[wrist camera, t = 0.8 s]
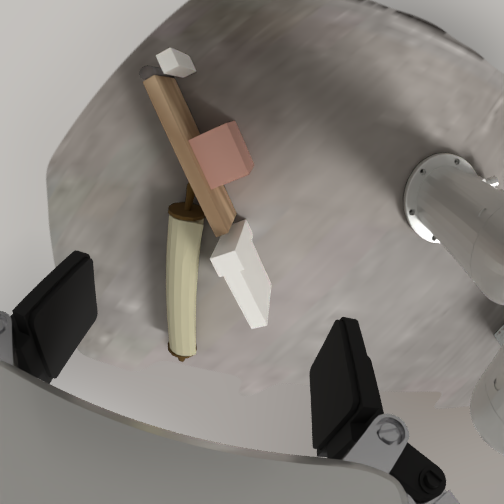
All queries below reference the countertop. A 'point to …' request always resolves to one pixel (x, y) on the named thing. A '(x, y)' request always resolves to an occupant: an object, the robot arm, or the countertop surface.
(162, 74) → the door
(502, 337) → the supplement box
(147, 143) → the countertop surface
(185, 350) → the rolling pin
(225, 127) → the block
